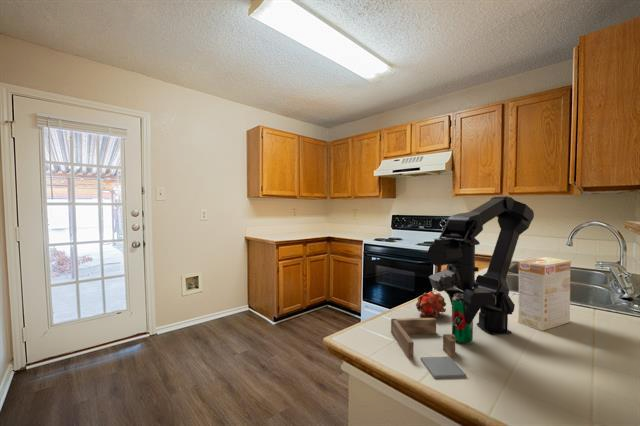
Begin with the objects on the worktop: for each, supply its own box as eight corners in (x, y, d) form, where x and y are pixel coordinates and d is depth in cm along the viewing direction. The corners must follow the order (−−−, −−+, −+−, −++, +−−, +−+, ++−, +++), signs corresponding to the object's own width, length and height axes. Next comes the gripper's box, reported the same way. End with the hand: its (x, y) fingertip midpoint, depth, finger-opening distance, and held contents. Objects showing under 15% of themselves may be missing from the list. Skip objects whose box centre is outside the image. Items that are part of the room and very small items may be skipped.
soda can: (475, 345, 71) (476, 299, 71) (454, 343, 72) (454, 298, 72) (469, 336, 76) (469, 293, 76) (449, 334, 77) (449, 292, 77)
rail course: (434, 331, 79) (434, 317, 79) (460, 357, 66) (460, 341, 66) (391, 332, 79) (391, 318, 79) (408, 358, 65) (408, 342, 65)
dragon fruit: (445, 317, 94) (421, 329, 88) (427, 297, 99) (403, 307, 94) (457, 302, 88) (432, 314, 83) (437, 282, 94) (413, 292, 88)
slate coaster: (449, 358, 65) (449, 356, 65) (466, 377, 58) (466, 374, 58) (420, 359, 65) (420, 357, 65) (434, 378, 58) (434, 375, 58)
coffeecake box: (544, 314, 91) (545, 256, 91) (571, 322, 85) (572, 260, 84) (516, 322, 86) (517, 260, 85) (542, 331, 79) (543, 264, 79)
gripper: (419, 256, 82) (418, 307, 83) (451, 270, 64) (451, 336, 64) (455, 255, 83) (454, 306, 83) (497, 270, 64) (497, 335, 65)
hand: (462, 319), depth 74 cm, fingers closed on soda can, 5 cm apart
